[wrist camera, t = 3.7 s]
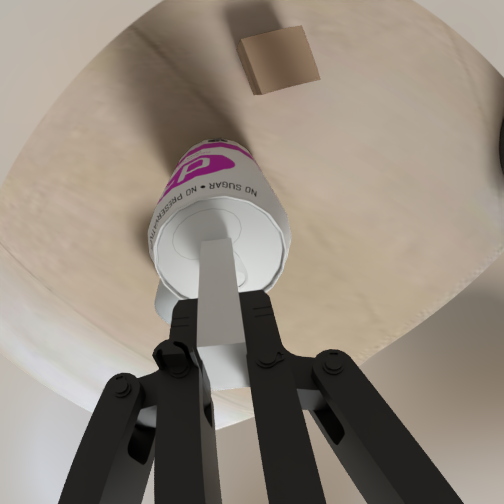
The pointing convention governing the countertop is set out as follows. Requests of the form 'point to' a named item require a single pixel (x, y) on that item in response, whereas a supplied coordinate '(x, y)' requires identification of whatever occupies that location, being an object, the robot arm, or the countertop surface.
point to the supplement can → (218, 219)
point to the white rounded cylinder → (165, 302)
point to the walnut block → (277, 60)
